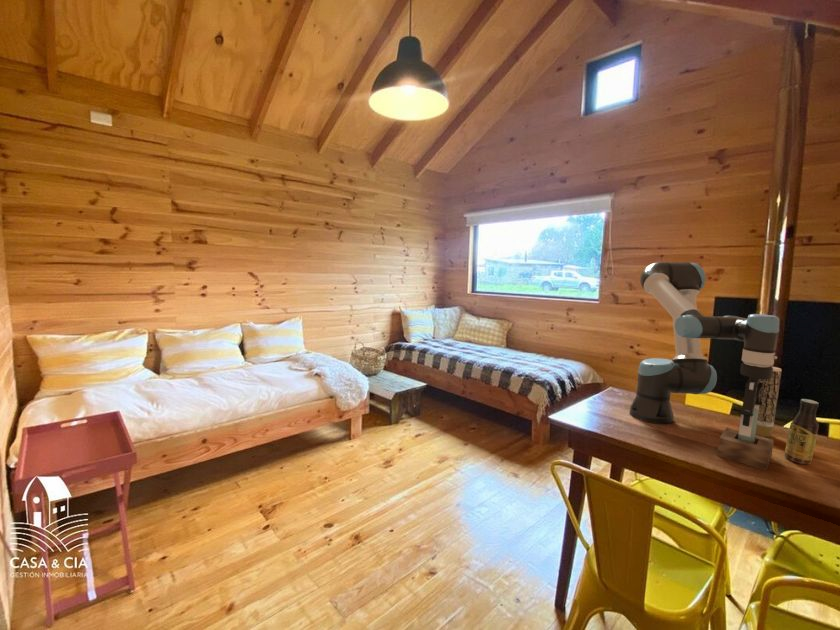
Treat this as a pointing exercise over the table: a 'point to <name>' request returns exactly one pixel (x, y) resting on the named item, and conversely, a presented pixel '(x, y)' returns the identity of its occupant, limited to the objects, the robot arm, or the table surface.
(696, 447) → the table surface
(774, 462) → the table surface
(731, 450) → the bore block
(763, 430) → the bark-textured cylinder
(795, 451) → the sauce bottle
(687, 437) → the table surface
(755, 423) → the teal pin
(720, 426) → the table surface
